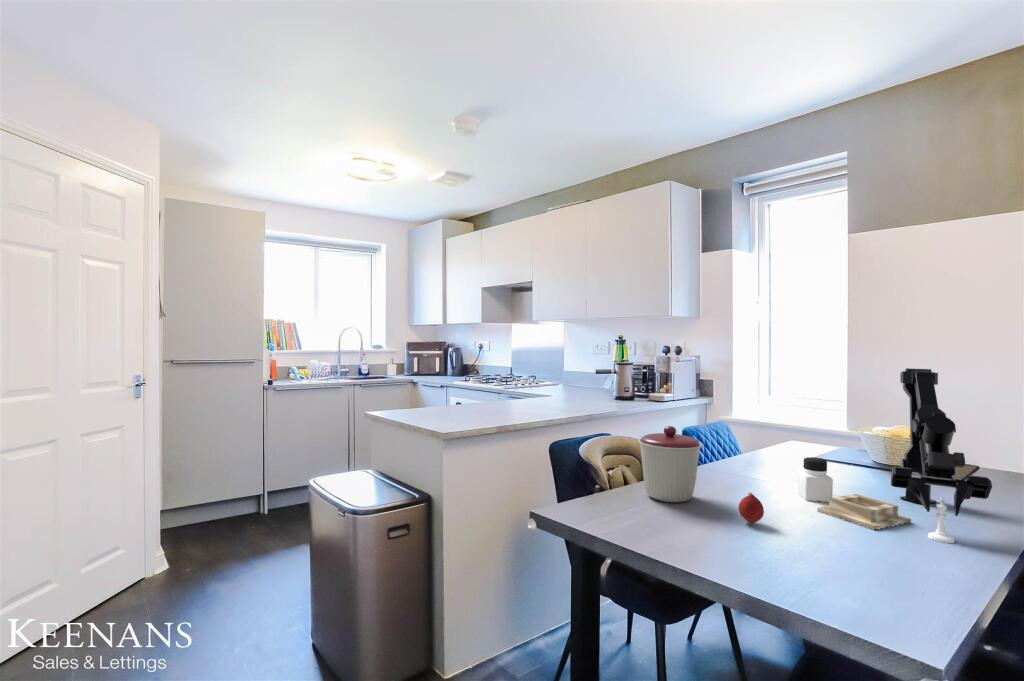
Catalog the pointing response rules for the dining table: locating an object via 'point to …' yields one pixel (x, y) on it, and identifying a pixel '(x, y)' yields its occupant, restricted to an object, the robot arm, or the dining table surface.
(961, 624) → the dining table surface
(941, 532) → the chess piece
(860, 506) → the socket block
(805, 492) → the medicine bottle
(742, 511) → the onion
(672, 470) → the canister
